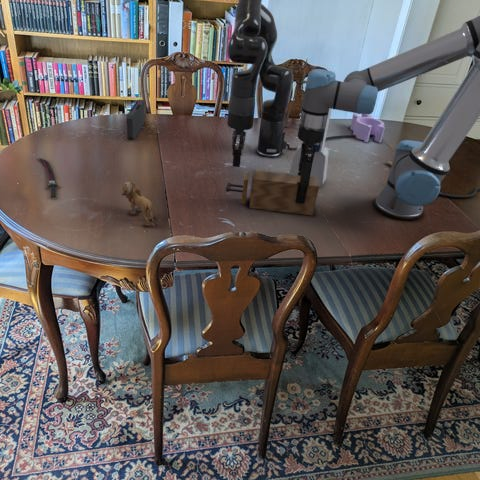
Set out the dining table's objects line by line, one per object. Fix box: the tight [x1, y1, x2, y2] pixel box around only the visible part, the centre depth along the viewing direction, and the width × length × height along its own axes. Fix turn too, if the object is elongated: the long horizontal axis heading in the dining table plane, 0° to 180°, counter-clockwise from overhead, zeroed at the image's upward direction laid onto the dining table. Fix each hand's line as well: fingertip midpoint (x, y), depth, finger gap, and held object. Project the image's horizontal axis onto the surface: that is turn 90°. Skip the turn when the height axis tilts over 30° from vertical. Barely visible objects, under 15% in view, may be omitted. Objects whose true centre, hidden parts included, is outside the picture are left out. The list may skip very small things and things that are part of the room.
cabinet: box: [249, 169, 320, 216], centre depth 146 cm, size 20×6×10 cm, turn 85°
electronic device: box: [288, 109, 333, 188], centre depth 159 cm, size 12×8×30 cm, turn 71°
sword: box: [40, 158, 59, 198], centre depth 151 cm, size 31×3×1 cm, turn 26°
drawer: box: [225, 172, 253, 205], centre depth 147 cm, size 24×5×8 cm, turn 85°
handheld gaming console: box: [126, 98, 146, 140], centre depth 191 cm, size 23×3×10 cm, turn 178°
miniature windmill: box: [284, 58, 308, 128], centre depth 209 cm, size 9×8×30 cm
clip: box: [349, 112, 386, 143], centre depth 214 cm, size 20×12×7 cm, turn 11°
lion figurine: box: [119, 181, 159, 227], centre depth 134 cm, size 15×5×9 cm, turn 50°
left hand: (236, 166), depth 143 cm, fingers closed
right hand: (299, 196), depth 147 cm, fingers open, 7 cm apart
